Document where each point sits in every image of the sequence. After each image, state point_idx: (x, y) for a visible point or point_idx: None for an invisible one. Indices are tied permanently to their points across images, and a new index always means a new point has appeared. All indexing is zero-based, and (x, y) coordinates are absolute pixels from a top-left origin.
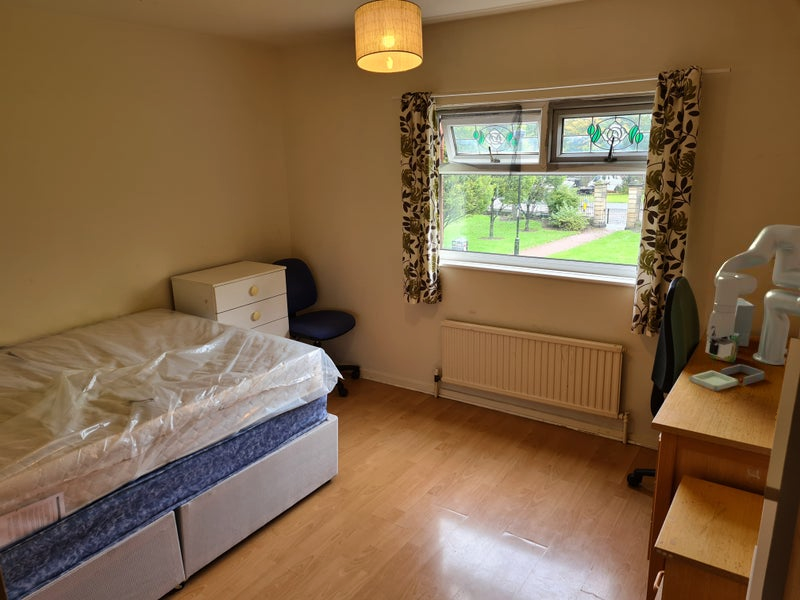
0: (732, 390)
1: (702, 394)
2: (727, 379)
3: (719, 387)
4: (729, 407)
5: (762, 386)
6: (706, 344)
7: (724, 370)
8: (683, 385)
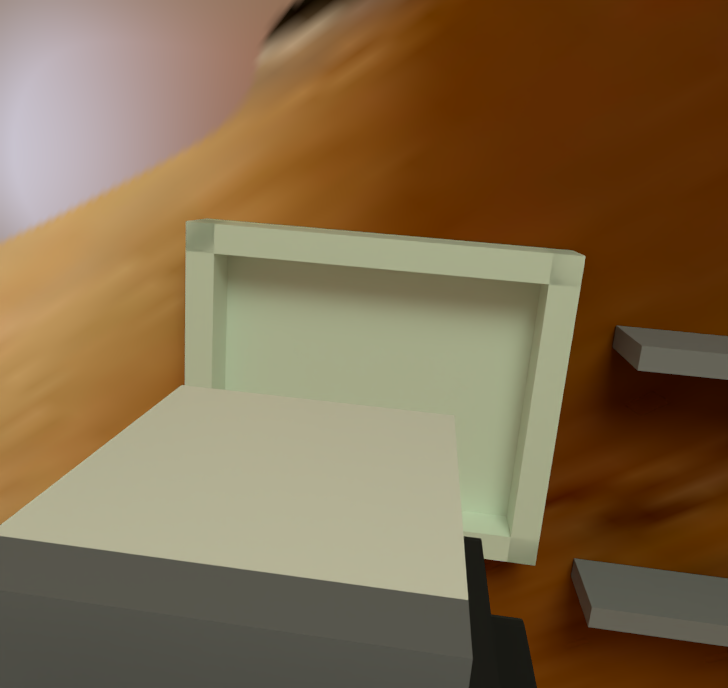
0: None
1: (41, 462)
2: (517, 455)
3: None
4: None
5: (680, 675)
6: (85, 460)
7: (667, 369)
8: (53, 254)
